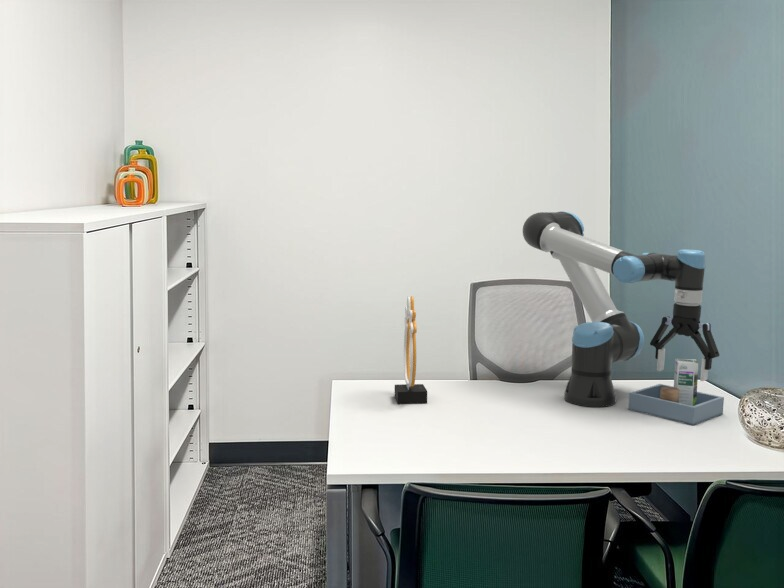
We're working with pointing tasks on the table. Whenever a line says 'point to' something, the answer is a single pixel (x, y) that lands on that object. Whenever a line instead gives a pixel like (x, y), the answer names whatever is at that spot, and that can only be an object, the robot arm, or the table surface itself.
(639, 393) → the tote
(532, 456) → the table surface
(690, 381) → the syrup box
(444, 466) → the table surface
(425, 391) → the abstract figure sculpture
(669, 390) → the walnut cylinder
